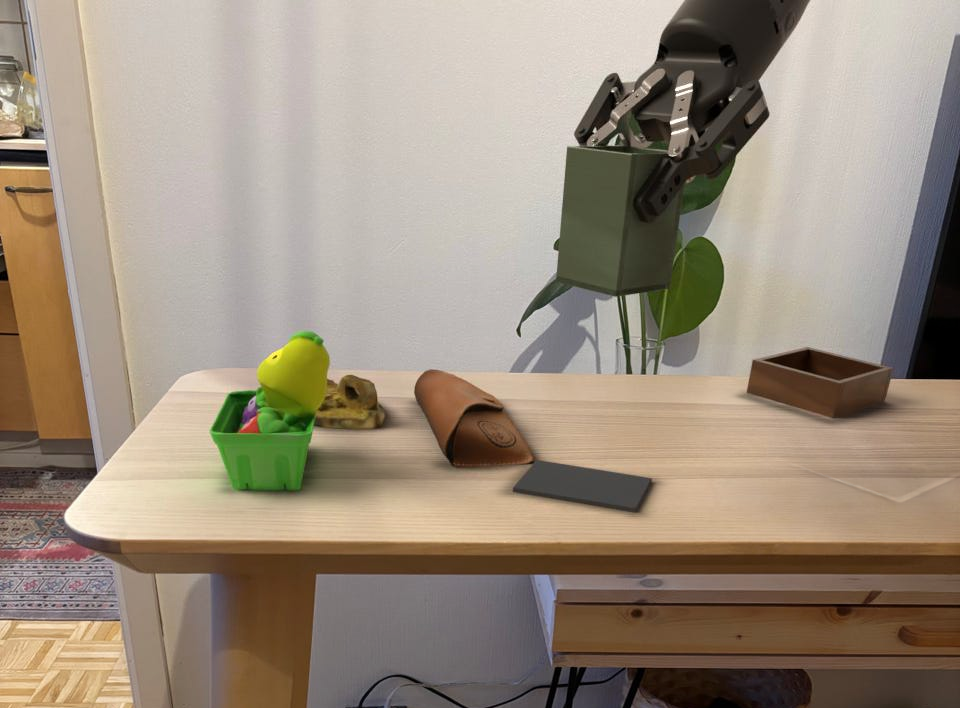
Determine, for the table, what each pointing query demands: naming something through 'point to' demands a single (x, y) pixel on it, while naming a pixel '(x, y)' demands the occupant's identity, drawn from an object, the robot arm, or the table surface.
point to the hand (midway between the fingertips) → (605, 207)
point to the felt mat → (584, 485)
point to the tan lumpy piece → (350, 405)
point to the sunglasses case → (469, 422)
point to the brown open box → (819, 381)
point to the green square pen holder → (614, 223)
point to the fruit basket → (274, 417)
